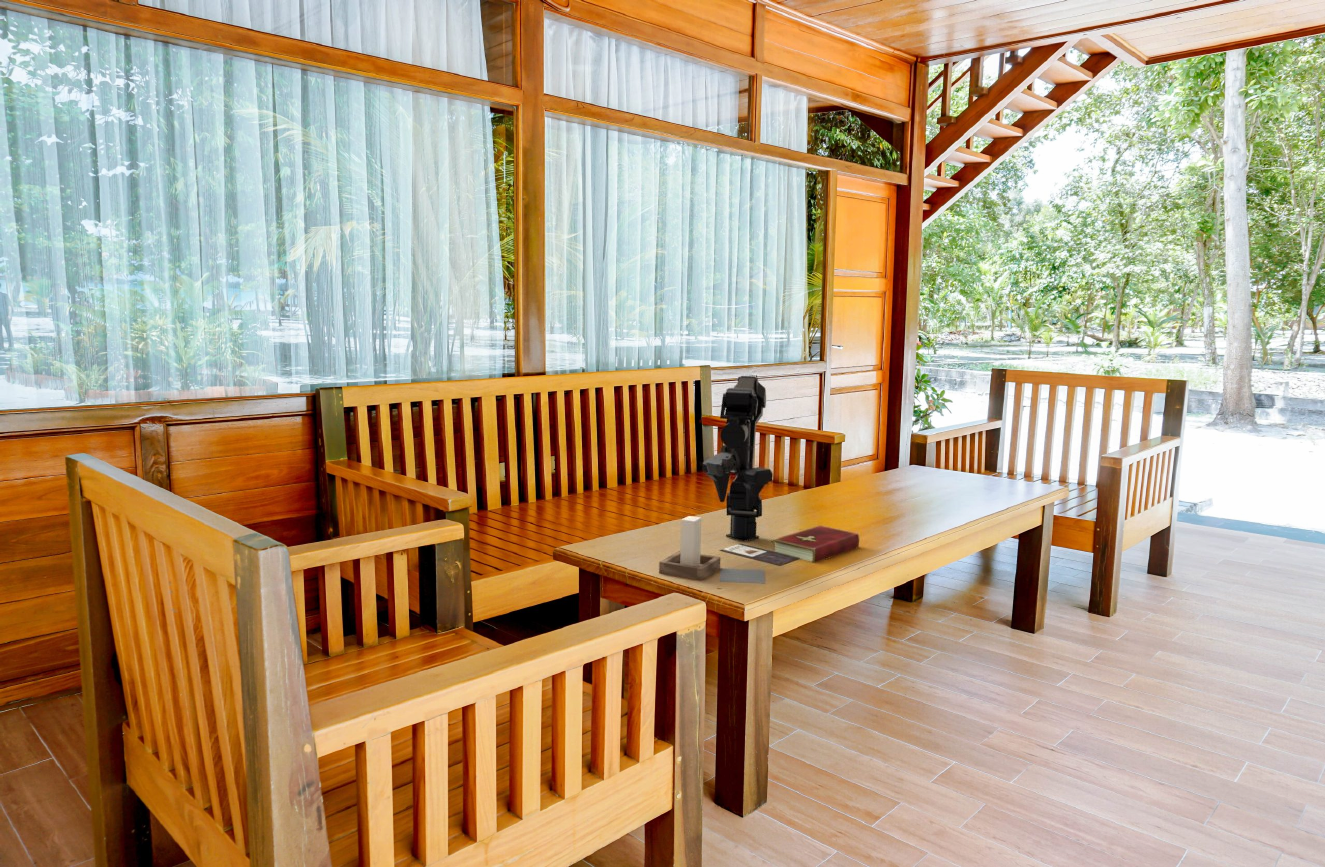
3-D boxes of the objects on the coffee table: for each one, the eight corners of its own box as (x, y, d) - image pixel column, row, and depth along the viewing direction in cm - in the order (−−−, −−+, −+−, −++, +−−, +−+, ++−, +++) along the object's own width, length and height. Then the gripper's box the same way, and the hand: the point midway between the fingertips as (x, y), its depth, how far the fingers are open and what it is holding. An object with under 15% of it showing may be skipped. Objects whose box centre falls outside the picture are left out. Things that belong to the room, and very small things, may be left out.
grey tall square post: (683, 566, 207) (685, 514, 205) (707, 570, 205) (708, 517, 203) (672, 573, 202) (673, 519, 200) (696, 577, 199) (698, 523, 197)
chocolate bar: (779, 565, 208) (719, 550, 220) (779, 569, 208) (719, 553, 220) (800, 557, 215) (740, 543, 226) (800, 561, 215) (740, 546, 227)
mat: (720, 569, 205) (720, 567, 205) (764, 571, 205) (764, 569, 205) (719, 582, 196) (719, 581, 196) (765, 584, 195) (765, 583, 195)
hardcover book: (858, 548, 227) (859, 532, 226) (813, 565, 212) (814, 548, 211) (819, 539, 235) (819, 524, 234) (772, 554, 220) (773, 538, 219)
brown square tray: (678, 562, 210) (679, 550, 210) (720, 568, 206) (720, 557, 205) (659, 573, 201) (659, 561, 200) (701, 581, 196) (702, 569, 196)
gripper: (686, 439, 213) (684, 502, 215) (741, 450, 199) (738, 517, 201) (720, 435, 220) (718, 496, 222) (775, 445, 206) (772, 511, 208)
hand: (735, 505), depth 213 cm, fingers open, 9 cm apart
